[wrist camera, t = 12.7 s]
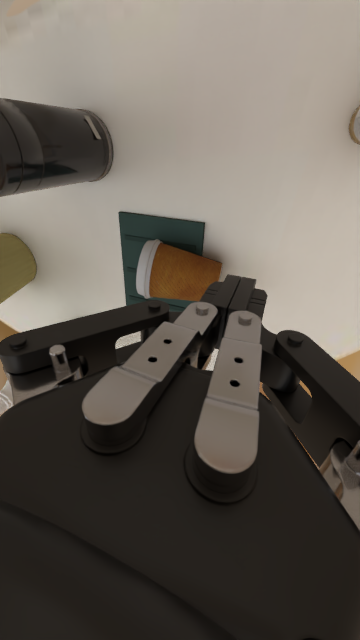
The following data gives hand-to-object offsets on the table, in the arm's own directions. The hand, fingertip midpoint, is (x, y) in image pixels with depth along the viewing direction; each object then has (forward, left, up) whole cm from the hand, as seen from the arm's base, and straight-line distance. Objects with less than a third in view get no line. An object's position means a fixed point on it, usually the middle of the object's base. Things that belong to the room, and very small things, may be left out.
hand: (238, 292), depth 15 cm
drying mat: (-17, -14, -29) cm, 37 cm away
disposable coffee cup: (-6, -12, -26) cm, 29 cm away
